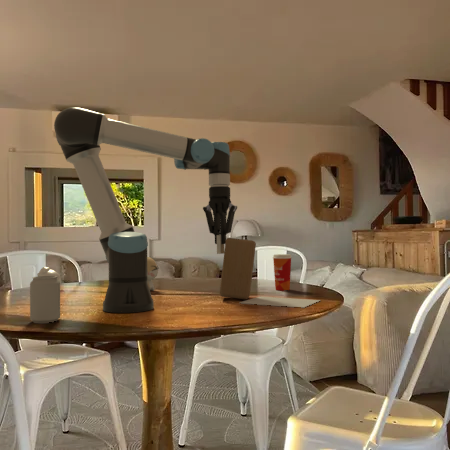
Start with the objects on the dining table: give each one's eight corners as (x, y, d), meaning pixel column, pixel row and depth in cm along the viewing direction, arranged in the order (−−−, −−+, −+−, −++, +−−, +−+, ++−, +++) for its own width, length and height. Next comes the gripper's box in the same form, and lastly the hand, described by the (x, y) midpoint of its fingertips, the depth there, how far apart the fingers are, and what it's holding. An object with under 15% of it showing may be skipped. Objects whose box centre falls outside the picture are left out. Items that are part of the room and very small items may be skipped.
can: (63, 318, 130) (63, 274, 130) (55, 323, 122) (54, 277, 123) (36, 318, 130) (36, 275, 130) (25, 324, 122) (25, 277, 122)
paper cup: (269, 289, 191) (269, 254, 191) (287, 288, 193) (286, 254, 193) (277, 291, 183) (277, 255, 184) (295, 290, 186) (295, 254, 186)
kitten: (155, 293, 182) (155, 254, 182) (129, 293, 182) (129, 254, 182) (160, 288, 197) (160, 252, 197) (136, 288, 197) (136, 252, 197)
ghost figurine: (41, 290, 194) (41, 266, 194) (64, 290, 194) (64, 265, 194) (31, 293, 185) (31, 267, 185) (55, 293, 185) (55, 267, 185)
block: (249, 297, 168) (256, 241, 169) (248, 300, 158) (255, 240, 159) (222, 293, 169) (228, 238, 170) (218, 296, 159) (225, 237, 160)
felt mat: (303, 308, 143) (303, 307, 143) (239, 303, 154) (239, 302, 154) (320, 301, 157) (320, 300, 157) (260, 297, 168) (260, 296, 168)
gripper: (240, 186, 167) (241, 253, 167) (209, 188, 174) (210, 252, 173) (230, 184, 161) (231, 254, 161) (198, 186, 167) (199, 253, 167)
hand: (220, 253), depth 167 cm, fingers closed
